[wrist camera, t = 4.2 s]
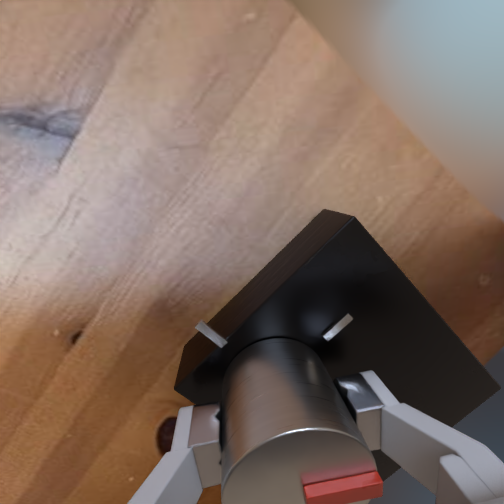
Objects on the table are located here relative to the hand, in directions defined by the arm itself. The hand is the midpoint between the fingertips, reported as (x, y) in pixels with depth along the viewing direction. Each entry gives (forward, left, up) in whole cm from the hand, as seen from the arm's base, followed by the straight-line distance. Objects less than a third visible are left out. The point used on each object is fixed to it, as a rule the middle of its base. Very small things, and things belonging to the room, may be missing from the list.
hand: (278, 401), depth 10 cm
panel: (+3, +2, -4) cm, 6 cm away
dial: (0, 0, -1) cm, 1 cm away
